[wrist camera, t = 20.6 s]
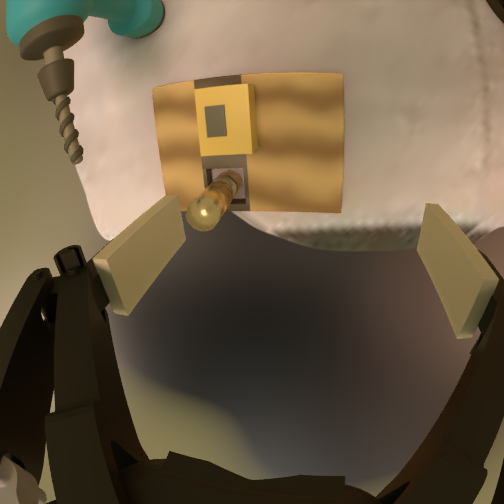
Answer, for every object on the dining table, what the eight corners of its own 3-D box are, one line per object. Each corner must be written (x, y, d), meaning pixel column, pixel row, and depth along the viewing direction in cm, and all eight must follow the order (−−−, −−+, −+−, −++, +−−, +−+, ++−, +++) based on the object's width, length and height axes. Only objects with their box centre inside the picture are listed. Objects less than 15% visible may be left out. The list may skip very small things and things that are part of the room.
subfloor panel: (158, 88, 33) (151, 88, 32) (340, 74, 29) (342, 73, 28) (174, 206, 42) (168, 211, 41) (339, 207, 38) (340, 213, 36)
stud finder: (205, 89, 31) (193, 89, 28) (253, 85, 30) (247, 83, 26) (211, 150, 35) (200, 156, 32) (257, 147, 34) (251, 154, 30)
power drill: (198, 121, 35) (80, 162, 16) (144, 137, 38) (19, 193, 18) (161, -39, 22) (56, -94, 3) (112, -14, 25) (-2, -41, 5)
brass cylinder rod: (216, 170, 39) (183, 200, 28) (241, 170, 38) (215, 200, 28) (219, 193, 40) (188, 231, 30) (242, 193, 40) (219, 231, 29)
